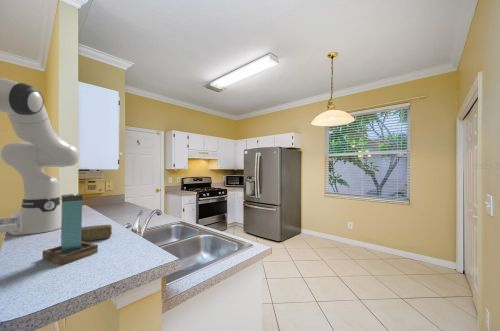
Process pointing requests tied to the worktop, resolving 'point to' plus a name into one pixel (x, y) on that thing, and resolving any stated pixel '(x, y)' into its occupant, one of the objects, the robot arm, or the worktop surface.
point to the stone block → (96, 232)
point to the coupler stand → (61, 259)
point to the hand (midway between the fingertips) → (17, 223)
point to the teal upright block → (71, 223)
